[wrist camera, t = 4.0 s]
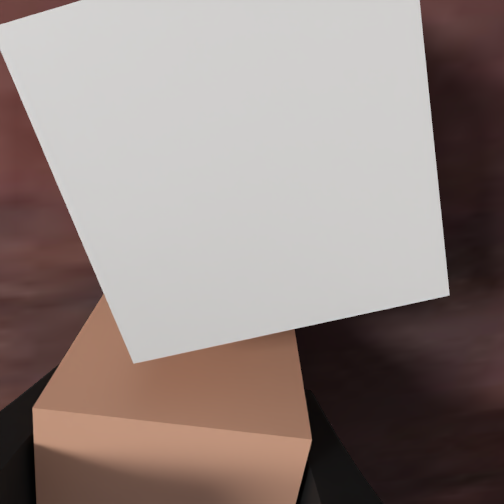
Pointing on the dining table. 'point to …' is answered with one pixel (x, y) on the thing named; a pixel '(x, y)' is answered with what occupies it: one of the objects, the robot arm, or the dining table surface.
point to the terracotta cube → (171, 423)
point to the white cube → (238, 159)
